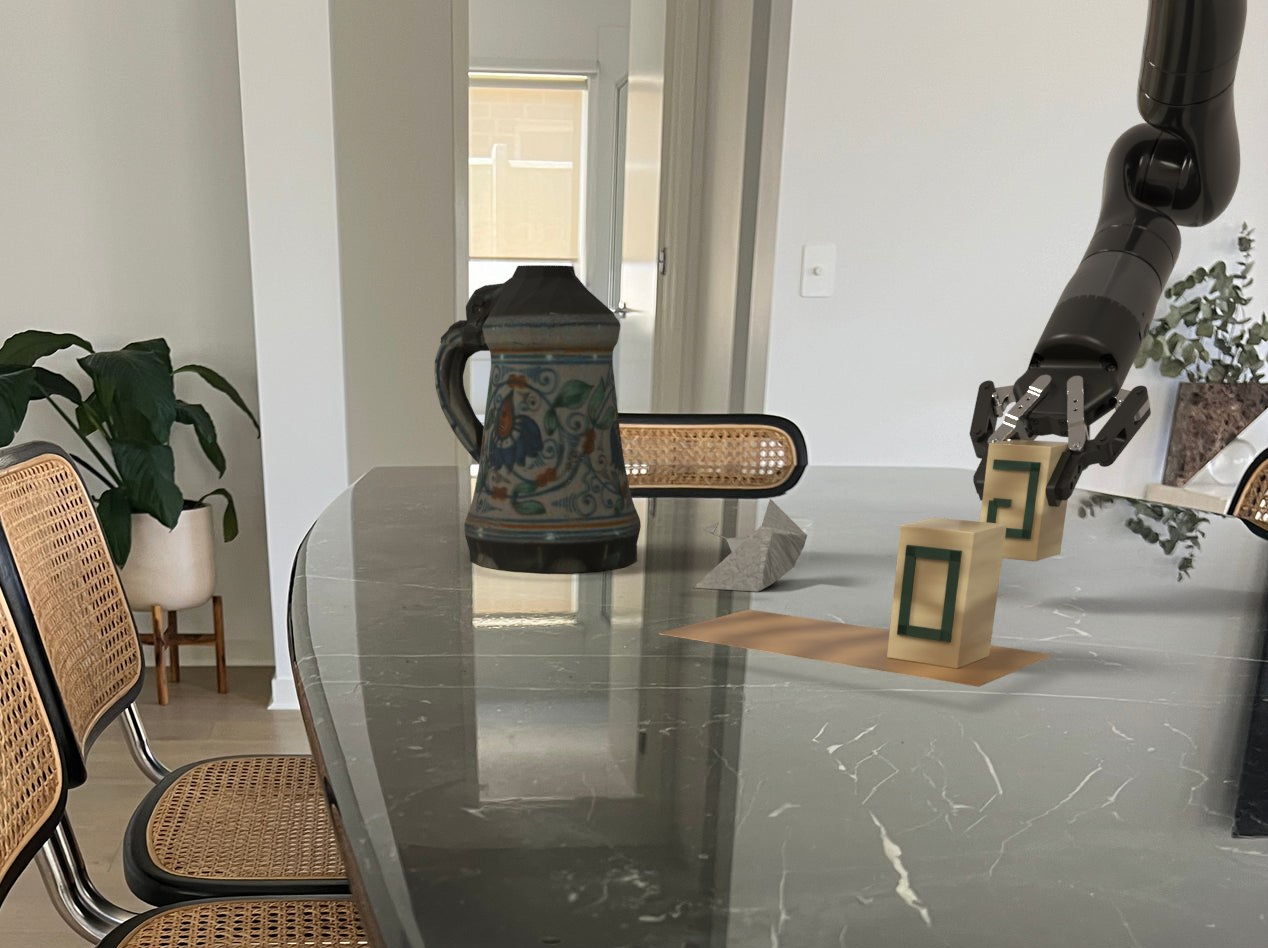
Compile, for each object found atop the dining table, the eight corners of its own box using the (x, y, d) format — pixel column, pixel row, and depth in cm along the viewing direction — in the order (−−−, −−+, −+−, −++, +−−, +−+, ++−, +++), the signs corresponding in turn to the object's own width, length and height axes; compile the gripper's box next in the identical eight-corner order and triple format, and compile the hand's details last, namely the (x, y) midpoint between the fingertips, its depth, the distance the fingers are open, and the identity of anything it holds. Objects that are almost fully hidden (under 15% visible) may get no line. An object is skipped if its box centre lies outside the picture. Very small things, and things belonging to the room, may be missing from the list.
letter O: (989, 656, 97) (1007, 524, 94) (955, 669, 94) (973, 532, 90) (920, 645, 100) (935, 517, 97) (884, 658, 96) (898, 525, 93)
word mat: (1051, 666, 98) (1053, 654, 98) (977, 699, 90) (978, 686, 90) (747, 619, 112) (748, 609, 112) (657, 644, 104) (657, 632, 103)
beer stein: (643, 575, 130) (653, 264, 120) (425, 572, 130) (417, 262, 120) (636, 547, 145) (645, 269, 135) (441, 545, 145) (435, 267, 135)
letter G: (1060, 554, 118) (1076, 442, 114) (1034, 562, 114) (1050, 446, 110) (1001, 548, 121) (1014, 439, 117) (974, 555, 117) (987, 443, 113)
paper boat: (754, 585, 119) (661, 544, 123) (754, 639, 125) (665, 598, 128) (833, 494, 123) (741, 457, 127) (829, 551, 129) (741, 514, 132)
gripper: (1002, 292, 119) (920, 458, 115) (1183, 291, 111) (1100, 469, 107) (1019, 361, 125) (941, 521, 121) (1192, 365, 117) (1114, 537, 113)
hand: (1017, 496), depth 114 cm, fingers closed on letter G, 5 cm apart
